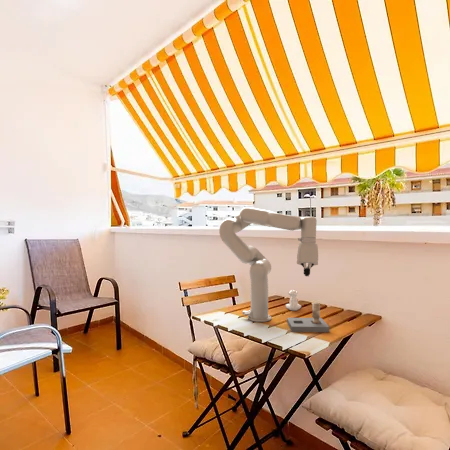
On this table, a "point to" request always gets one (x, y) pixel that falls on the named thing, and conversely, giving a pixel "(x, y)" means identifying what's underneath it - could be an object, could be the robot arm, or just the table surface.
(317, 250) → the robot arm
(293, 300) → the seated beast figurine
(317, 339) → the table surface
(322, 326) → the hole board
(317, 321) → the birch peg
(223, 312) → the table surface
